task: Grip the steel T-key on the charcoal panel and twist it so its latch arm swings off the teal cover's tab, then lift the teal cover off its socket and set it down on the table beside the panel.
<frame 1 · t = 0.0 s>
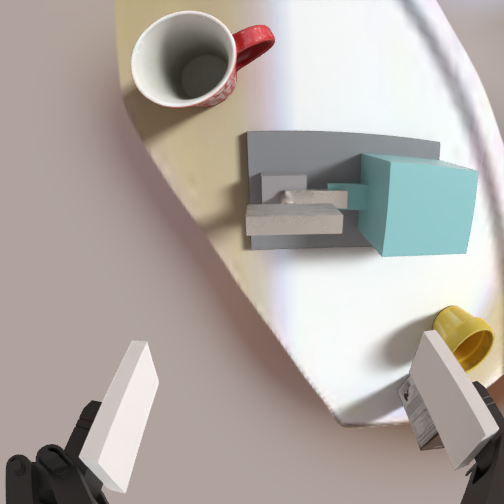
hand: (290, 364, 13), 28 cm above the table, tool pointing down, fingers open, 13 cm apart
plant pot: (446, 320, 46), on the table
cookie box: (419, 381, 53), on the table
housing: (349, 189, 38), on the table
key: (304, 209, 29), point 10 cm above the table, hinge at 0.0°
cover: (400, 193, 37), point 1 cm above the table, touching housing
mug: (220, 75, 33), on the table
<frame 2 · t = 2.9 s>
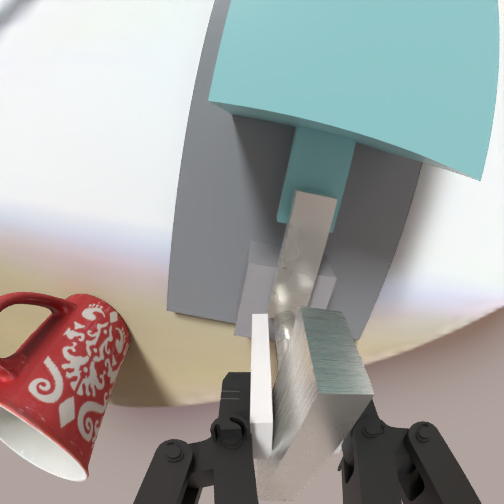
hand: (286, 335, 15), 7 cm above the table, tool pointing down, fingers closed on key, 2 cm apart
housing: (309, 146, 18), on the table
key: (300, 346, 12), point 10 cm above the table, hinge at 0.8°, touching gripper
cover: (334, 41, 14), point 1 cm above the table, touching housing
mug: (89, 310, 24), on the table
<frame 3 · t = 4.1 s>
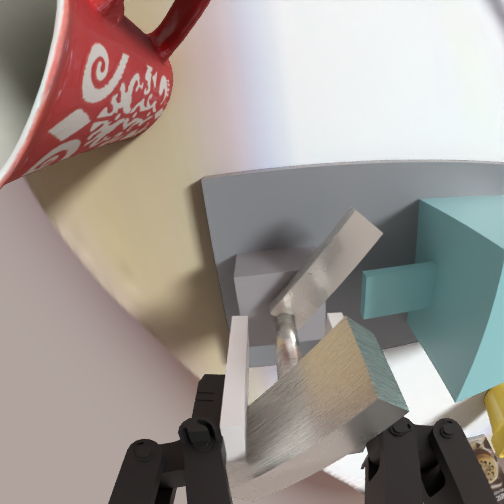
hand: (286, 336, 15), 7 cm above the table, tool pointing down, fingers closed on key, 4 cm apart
plant pot: (500, 387, 29), on the table
cookie box: (459, 446, 35), on the table
housing: (396, 261, 21), on the table
key: (313, 353, 12), point 10 cm above the table, hinge at 48.1°, touching gripper
cover: (473, 256, 20), point 1 cm above the table, touching housing
mug: (145, 76, 17), on the table
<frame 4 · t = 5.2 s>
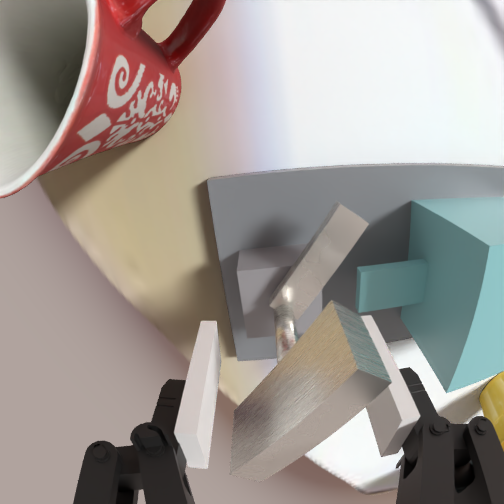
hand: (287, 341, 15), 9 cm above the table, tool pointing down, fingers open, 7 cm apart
plant pot: (495, 385, 30), on the table
housing: (390, 259, 22), on the table
key: (308, 337, 14), point 10 cm above the table, hinge at 53.1°
cover: (465, 255, 21), point 1 cm above the table, touching housing
mug: (154, 81, 18), on the table
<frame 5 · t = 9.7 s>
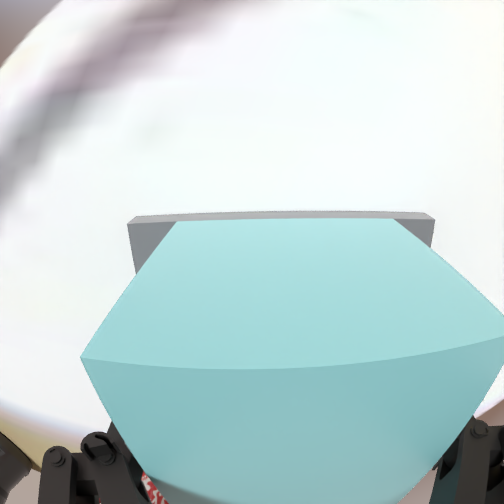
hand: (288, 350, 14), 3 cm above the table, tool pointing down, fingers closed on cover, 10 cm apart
housing: (280, 396, 20), on the table
cover: (286, 329, 16), point 1 cm above the table, touching gripper, housing
mug: (141, 470, 26), on the table
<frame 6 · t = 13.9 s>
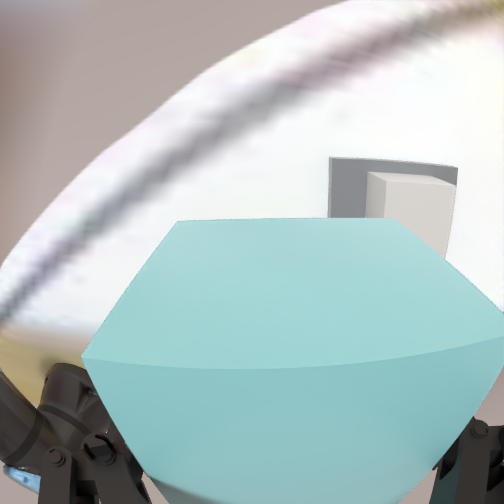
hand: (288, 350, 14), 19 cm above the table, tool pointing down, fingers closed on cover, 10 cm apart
housing: (385, 272, 33), on the table
cover: (286, 329, 16), point 17 cm above the table, touching gripper
when the fingers open (3 cm above the table, at t = 18.0 s): cover drops 1 cm, on the table.
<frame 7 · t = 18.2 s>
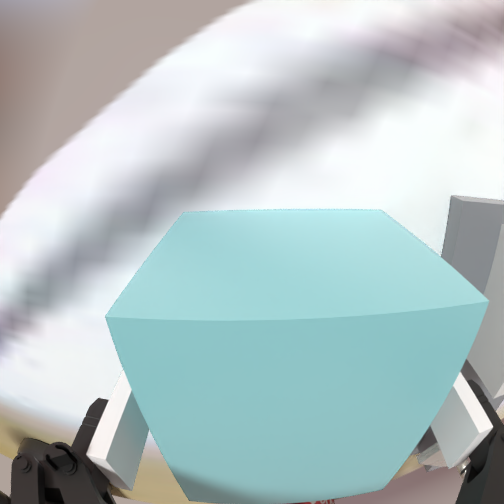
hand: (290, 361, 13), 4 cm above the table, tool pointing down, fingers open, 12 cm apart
housing: (478, 355, 19), on the table
key: (468, 494, 13), point 10 cm above the table, hinge at 54.1°
cover: (283, 313, 17), on the table
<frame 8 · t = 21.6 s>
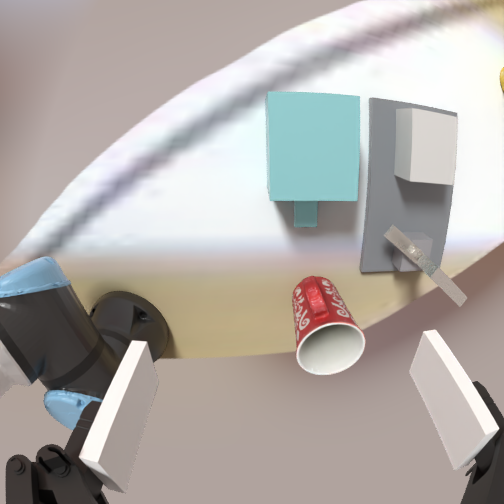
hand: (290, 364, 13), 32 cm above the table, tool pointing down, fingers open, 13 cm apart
housing: (411, 189, 41), on the table
key: (427, 265, 35), point 10 cm above the table, hinge at 54.1°
cover: (303, 142, 39), on the table
mug: (312, 286, 48), on the table
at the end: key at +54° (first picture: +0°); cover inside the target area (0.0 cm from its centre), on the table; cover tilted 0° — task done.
